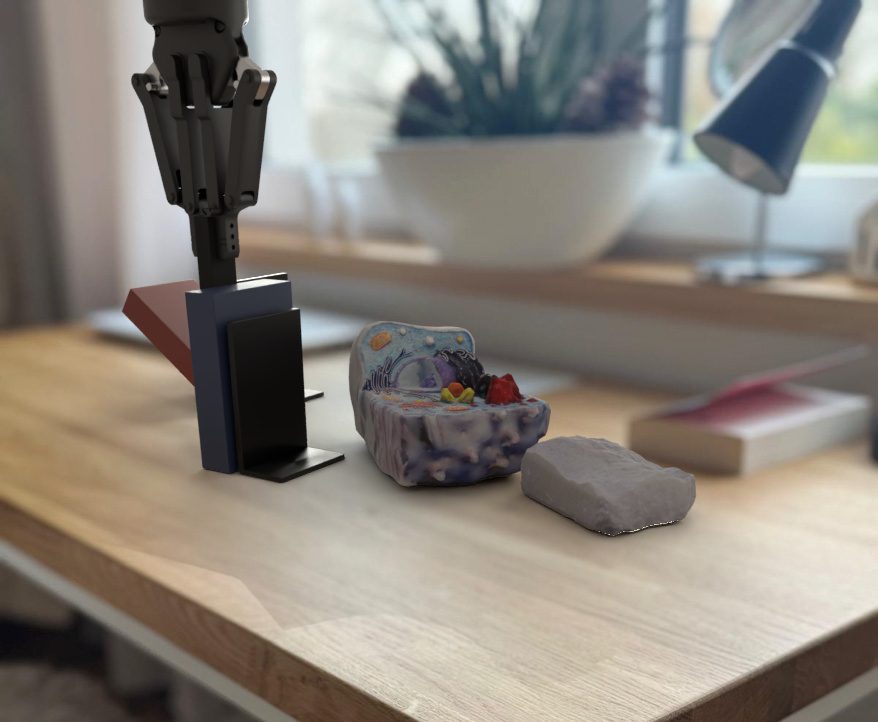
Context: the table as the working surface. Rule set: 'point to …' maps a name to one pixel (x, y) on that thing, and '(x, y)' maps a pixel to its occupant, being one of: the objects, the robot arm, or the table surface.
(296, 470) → the black book support
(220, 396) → the navy book
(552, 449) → the stone block
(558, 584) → the table surface
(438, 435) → the cell model
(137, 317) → the maroon book
